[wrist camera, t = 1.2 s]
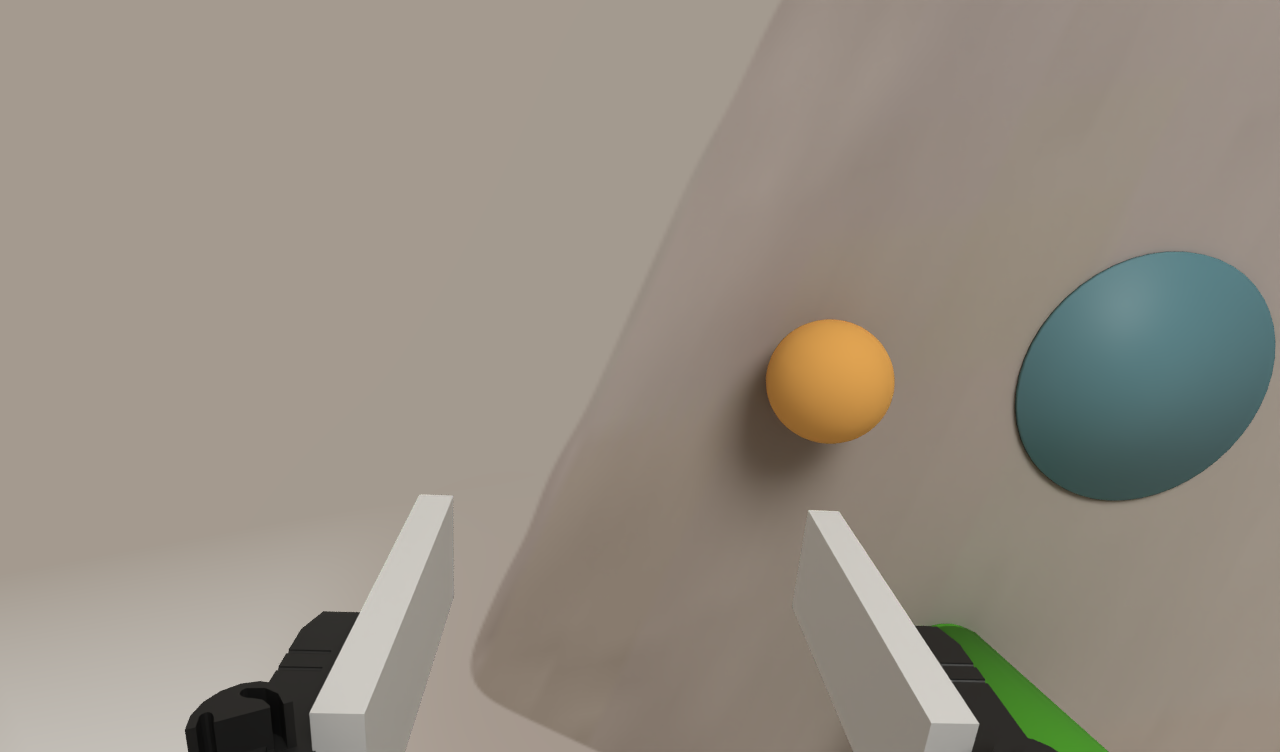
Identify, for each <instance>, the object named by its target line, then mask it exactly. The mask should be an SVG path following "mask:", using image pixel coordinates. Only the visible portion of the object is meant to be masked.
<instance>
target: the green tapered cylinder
mask: <svg viewBox="0 0 1280 752" xmlns="http://www.w3.org/2000/svg"><path fill="white" fill-rule="evenodd" d="M933 626H937V627H938V628H940V629H941V630H942V631H944V632H945V633H946V634H947V635H949V636H950V637H951V638H953V639H954V640H955V641H956V642H958V643H959V644H960V645H961V647H962V648H963V650H964V651H965V652H966V654H967V655H968V656H969V658H970V659H971V661H972V662H973V666H974V667H977V669H978V670H979V672H980V673H981V674H982V676H983V677H984V678H985V683H988V684H989V685H990V687H991V688H992V690H993V691H994V692H995V694H996V695H997V696H998V698H999V699H1000V701H1001V702H1002V703H1003V705H1004V706H1005V707H1006V709H1007V710H1008V712H1009V713H1010V714H1011V716H1012V717H1013V718H1014V720H1015V721H1016V723H1017V724H1018V725H1019V727H1020V728H1021V729H1022V731H1023V732H1024V734H1025V735H1026V736H1027V738H1030V739H1034V740H1036V741H1039V742H1041V743H1043V744H1046V745H1048V746H1050V747H1052V748H1053V749H1055V750H1056V751H1058V752H1108V751H1107V750H1106V749H1105V748H1104V747H1103V746H1101V745H1100V744H1099V743H1098V742H1097V741H1096V740H1095V739H1094V738H1092V737H1091V736H1090V735H1089V734H1088V733H1087V732H1086V731H1085V730H1084V729H1082V728H1081V727H1080V726H1079V725H1078V724H1077V723H1076V722H1075V721H1073V720H1072V719H1071V718H1070V717H1069V716H1068V715H1067V714H1066V713H1064V712H1063V711H1062V710H1061V709H1060V708H1059V707H1058V706H1057V705H1056V704H1054V703H1053V702H1052V701H1051V700H1050V699H1049V698H1048V697H1047V696H1045V695H1044V694H1043V693H1042V692H1041V691H1040V690H1039V689H1038V688H1036V687H1035V686H1034V685H1033V684H1032V683H1031V682H1030V681H1029V680H1028V679H1026V678H1025V677H1024V676H1023V675H1022V674H1021V673H1020V672H1019V671H1017V670H1016V669H1015V668H1014V667H1013V666H1012V665H1011V664H1010V663H1009V662H1007V661H1006V660H1005V659H1004V658H1003V657H1002V656H1001V655H1000V654H998V653H997V652H996V651H995V650H994V649H993V648H992V647H991V646H989V645H988V644H987V643H986V642H985V641H984V640H983V639H982V638H980V637H979V636H978V635H977V634H976V633H975V632H973V631H971V630H968V629H966V628H963V627H961V626H958V625H954V624H938V625H933Z"/></svg>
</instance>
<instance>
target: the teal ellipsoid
mask: <svg viewBox="0 0 1280 752" xmlns="http://www.w3.org/2000/svg"><path fill="white" fill-rule="evenodd" d="M1274 359H1275V334H1274V326H1273V322H1272V318H1271V315H1270V311H1269V309H1268V307H1267V305H1266V302H1265V300H1264V298H1263V297H1262V295H1261V294H1260V292H1259V291H1258V289H1257V288H1256V286H1255V285H1254V284H1253V283H1252V282H1251V281H1250V280H1249V279H1248V278H1247V277H1246V276H1245V275H1244V274H1243V273H1241V272H1240V271H1238V270H1237V269H1236V268H1234V267H1233V266H1231V265H1229V264H1227V263H1225V262H1223V261H1221V260H1219V259H1216V258H1212V257H1209V256H1206V255H1202V254H1196V253H1189V252H1160V253H1153V254H1147V255H1143V256H1139V257H1135V258H1132V259H1129V260H1126V261H1124V262H1121V263H1119V264H1116V265H1114V266H1112V267H1110V268H1108V269H1106V270H1104V271H1102V272H1100V273H1098V274H1097V275H1095V276H1094V277H1092V278H1091V279H1089V280H1088V281H1086V282H1085V283H1083V284H1082V285H1080V286H1079V287H1078V288H1077V289H1076V290H1075V291H1073V292H1072V293H1071V294H1070V295H1069V296H1068V297H1066V298H1065V299H1064V300H1063V301H1062V302H1061V304H1060V305H1059V306H1058V307H1057V308H1056V309H1055V310H1054V311H1053V312H1052V313H1051V315H1050V316H1049V317H1048V319H1047V320H1046V321H1045V323H1044V324H1043V325H1042V326H1041V328H1040V330H1039V331H1038V333H1037V335H1036V336H1035V338H1034V340H1033V341H1032V343H1031V345H1030V348H1029V350H1028V352H1027V354H1026V356H1025V358H1024V361H1023V365H1022V368H1021V371H1020V374H1019V379H1018V384H1017V389H1016V403H1015V409H1016V421H1017V426H1018V430H1019V434H1020V438H1021V440H1022V442H1023V445H1024V447H1025V450H1026V451H1027V453H1028V455H1029V456H1030V458H1031V459H1032V461H1033V462H1034V464H1035V465H1036V466H1037V467H1038V468H1039V469H1040V470H1041V472H1042V473H1044V474H1045V475H1046V476H1047V477H1048V478H1050V479H1051V480H1052V481H1053V482H1055V483H1056V484H1058V485H1060V486H1061V487H1063V488H1065V489H1066V490H1068V491H1071V492H1073V493H1076V494H1078V495H1081V496H1085V497H1089V498H1093V499H1101V500H1130V499H1137V498H1143V497H1147V496H1151V495H1154V494H1158V493H1161V492H1163V491H1166V490H1169V489H1171V488H1174V487H1176V486H1178V485H1180V484H1182V483H1184V482H1186V481H1188V480H1190V479H1191V478H1193V477H1194V476H1196V475H1198V474H1199V473H1201V472H1202V471H1204V470H1205V469H1206V468H1208V467H1209V466H1210V465H1212V464H1213V463H1214V462H1216V461H1217V460H1218V459H1219V458H1220V457H1221V456H1222V455H1223V454H1224V453H1225V452H1227V451H1228V450H1229V449H1230V448H1231V447H1232V445H1233V444H1234V443H1235V442H1236V441H1237V440H1238V439H1239V437H1240V436H1241V435H1242V434H1243V432H1244V431H1245V430H1246V428H1247V427H1248V425H1249V424H1250V423H1251V421H1252V420H1253V418H1254V416H1255V414H1256V413H1257V411H1258V409H1259V407H1260V405H1261V403H1262V401H1263V399H1264V396H1265V394H1266V392H1267V389H1268V386H1269V382H1270V379H1271V376H1272V371H1273V365H1274Z"/></svg>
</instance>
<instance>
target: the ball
mask: <svg viewBox="0 0 1280 752" xmlns="http://www.w3.org/2000/svg"><path fill="white" fill-rule="evenodd" d="M766 389H767V395H768V399H769V401H770V404H771V407H772V409H773V410H774V412H775V414H776V415H777V417H778V418H779V420H780V421H781V422H782V423H783V424H784V425H785V426H786V427H787V428H788V429H790V430H791V431H792V432H794V433H795V434H797V435H799V436H801V437H802V438H805V439H807V440H810V441H814V442H819V443H826V444H835V443H842V442H847V441H851V440H853V439H856V438H858V437H860V436H862V435H864V434H866V433H867V432H868V431H870V430H871V429H872V428H874V427H875V426H876V425H877V424H878V423H879V422H880V420H881V419H882V418H883V416H884V415H885V413H886V412H887V410H888V408H889V406H890V403H891V400H892V396H893V393H894V371H893V366H892V363H891V360H890V358H889V356H888V354H887V352H886V350H885V349H884V347H883V346H882V344H881V343H880V342H879V341H878V340H877V339H876V338H875V337H874V336H873V335H872V334H871V333H870V332H868V331H867V330H865V329H863V328H862V327H860V326H858V325H855V324H853V323H850V322H846V321H841V320H818V321H814V322H810V323H808V324H805V325H803V326H800V327H799V328H797V329H795V330H794V331H792V332H791V333H789V334H788V335H787V336H786V337H785V338H784V339H783V340H782V341H781V342H780V343H779V345H778V346H777V348H776V349H775V351H774V352H773V354H772V356H771V359H770V361H769V364H768V368H767V373H766Z"/></svg>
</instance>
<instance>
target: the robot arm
mask: <svg viewBox="0 0 1280 752" xmlns="http://www.w3.org/2000/svg"><path fill="white" fill-rule="evenodd" d="M453 550H454V549H453V496H448V495H423V494H420V495H419V497H418V499H417V501H416V502H415V504H414V506H413V508H412V511H411V513H410V514H409V516H408V519H407V520H406V522H405V524H404V526H403V528H402V530H401V532H400V534H399V536H398V538H397V540H396V542H395V544H394V546H393V548H392V550H391V552H390V554H389V556H388V558H387V560H386V562H385V564H384V566H383V568H382V570H381V572H380V574H379V576H378V578H377V580H376V582H375V584H374V586H373V588H372V590H371V592H370V594H369V596H368V598H367V600H366V602H365V604H364V606H363V608H362V610H361V612H359V613H358V612H324V611H323V612H322V613H321V614H320V615H318V616H317V617H316V618H315V619H313V620H312V621H311V622H310V623H308V624H307V625H306V626H304V627H303V628H302V629H301V630H300V632H299V634H298V635H297V637H296V639H295V640H294V642H293V644H292V645H291V647H290V648H289V653H287V654H286V655H285V657H284V658H283V660H282V662H281V663H280V665H279V668H278V671H276V672H275V673H274V675H273V677H272V678H271V680H270V681H269V682H261V681H258V682H251V683H243V684H239V685H236V686H233V687H231V688H228V689H225V690H222V691H220V692H219V693H217V694H215V695H214V696H212V697H211V698H209V699H207V700H206V701H204V702H203V703H202V704H201V705H200V706H199V707H198V708H197V709H196V710H195V711H194V712H193V714H192V715H191V716H190V718H189V721H188V723H187V726H186V729H185V734H186V740H187V746H188V752H405V750H406V747H407V744H408V740H409V737H410V734H411V731H412V728H413V725H414V721H415V718H416V715H417V712H418V709H419V706H420V703H421V699H422V696H423V693H424V690H425V686H426V684H427V680H428V677H429V674H430V671H431V668H432V664H433V661H434V658H435V655H436V652H437V649H438V645H439V642H440V639H441V636H442V632H443V630H444V626H445V623H446V620H447V617H448V614H449V610H450V607H451V604H452V601H453V598H454V571H453V570H454V566H453V565H454V559H453V558H454V551H453ZM792 608H793V611H794V613H795V615H796V618H797V620H798V622H799V625H800V627H801V630H802V632H803V634H804V637H805V639H806V641H807V644H808V646H809V649H810V651H811V653H812V656H813V658H814V660H815V663H816V665H817V667H818V670H819V672H820V675H821V677H822V679H823V682H824V684H825V686H826V689H827V691H828V693H829V696H830V698H831V701H832V703H833V705H834V708H835V710H836V712H837V715H838V717H839V719H840V722H841V724H842V727H843V729H844V731H845V734H846V736H847V738H848V741H849V743H850V746H851V748H852V750H853V752H1058V751H1056V750H1055V749H1053V748H1052V747H1050V746H1048V745H1046V744H1043V743H1041V742H1039V741H1036V740H1034V739H1030V738H1027V736H1026V735H1025V734H1024V732H1023V731H1022V729H1021V728H1020V727H1019V725H1018V724H1017V723H1016V721H1015V720H1014V718H1013V717H1012V716H1011V714H1010V713H1009V712H1008V710H1007V709H1006V707H1005V706H1004V705H1003V703H1002V702H1001V701H1000V699H999V698H998V696H997V695H996V694H995V692H994V691H993V690H992V688H991V687H990V685H989V684H988V683H985V678H984V677H983V676H982V674H981V673H980V672H979V670H978V669H977V667H974V666H973V662H972V661H971V659H970V658H969V656H968V655H967V654H966V652H965V651H964V650H963V648H962V647H961V645H960V644H959V643H958V642H956V641H955V640H954V639H953V638H951V637H950V636H949V635H947V634H946V633H945V632H944V631H942V630H941V629H940V628H938V627H937V626H914V624H913V623H912V621H911V620H910V618H909V617H908V615H907V614H906V612H905V611H904V609H903V608H902V606H901V604H900V603H899V601H898V600H897V598H896V597H895V595H894V594H893V592H892V591H891V589H890V588H889V586H888V585H887V583H886V582H885V580H884V579H883V577H882V576H881V574H880V573H879V571H878V570H877V568H876V567H875V565H874V564H873V562H872V561H871V559H870V558H869V556H868V555H867V553H866V552H865V550H864V548H863V547H862V545H861V544H860V542H859V541H858V539H857V538H856V536H855V535H854V533H853V532H852V530H851V529H850V527H849V526H848V524H847V523H846V521H845V520H844V518H843V517H842V515H841V514H840V512H839V511H820V510H808V514H807V520H806V526H805V532H804V537H803V543H802V549H801V555H800V561H799V567H798V573H797V579H796V585H795V591H794V597H793V603H792Z"/></svg>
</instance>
